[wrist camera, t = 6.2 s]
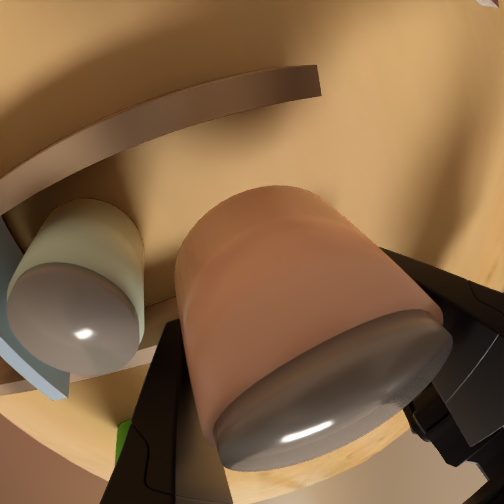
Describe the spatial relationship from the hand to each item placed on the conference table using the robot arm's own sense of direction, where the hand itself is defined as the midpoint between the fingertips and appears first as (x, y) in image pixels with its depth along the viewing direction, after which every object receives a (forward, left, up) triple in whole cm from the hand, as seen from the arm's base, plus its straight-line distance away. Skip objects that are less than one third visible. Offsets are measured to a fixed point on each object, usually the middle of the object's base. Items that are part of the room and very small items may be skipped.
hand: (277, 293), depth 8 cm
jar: (0, 0, -1) cm, 1 cm away
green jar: (+7, 0, -7) cm, 10 cm away
